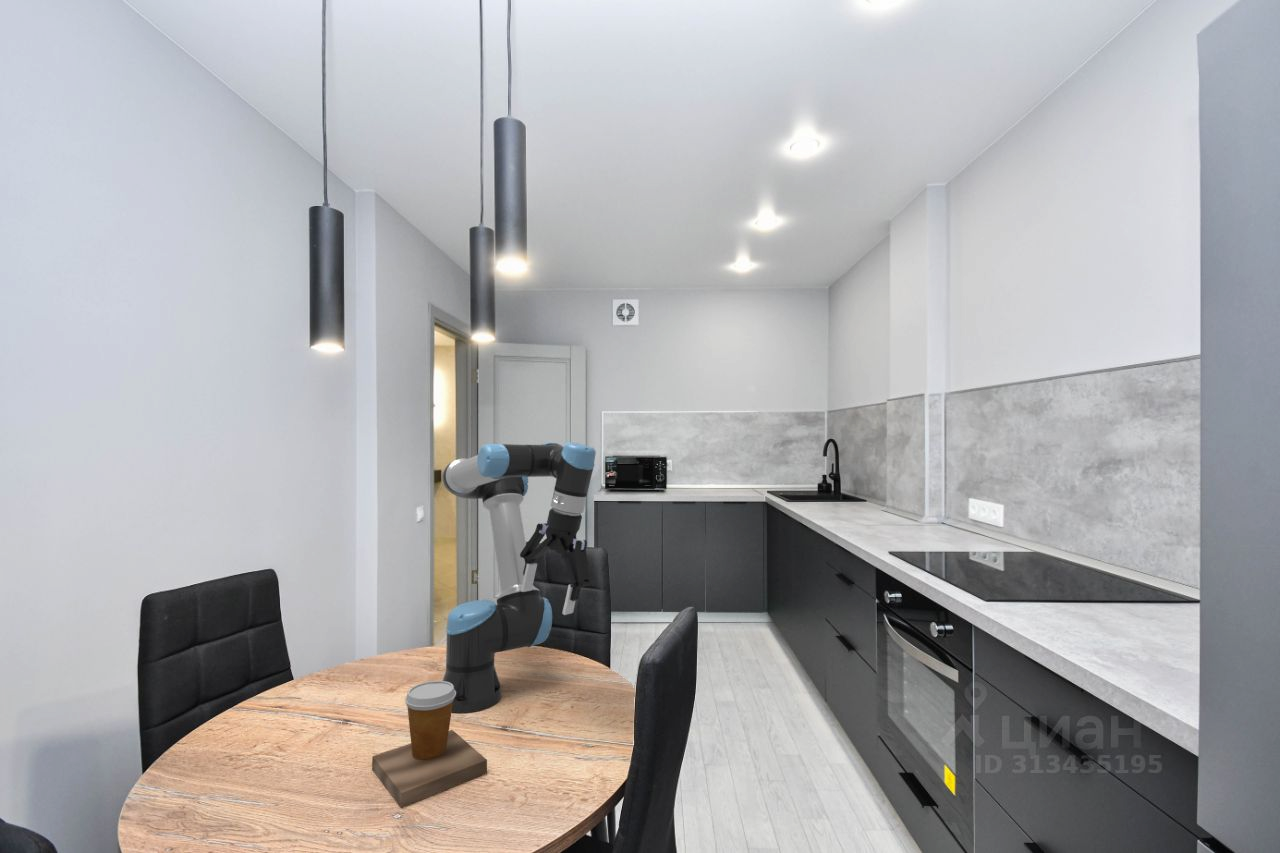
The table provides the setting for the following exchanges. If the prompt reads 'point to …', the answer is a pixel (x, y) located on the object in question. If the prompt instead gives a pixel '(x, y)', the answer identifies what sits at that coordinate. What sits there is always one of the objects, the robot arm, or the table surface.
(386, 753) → the walnut board
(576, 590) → the robot arm
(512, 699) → the table surface
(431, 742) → the disposable coffee cup
